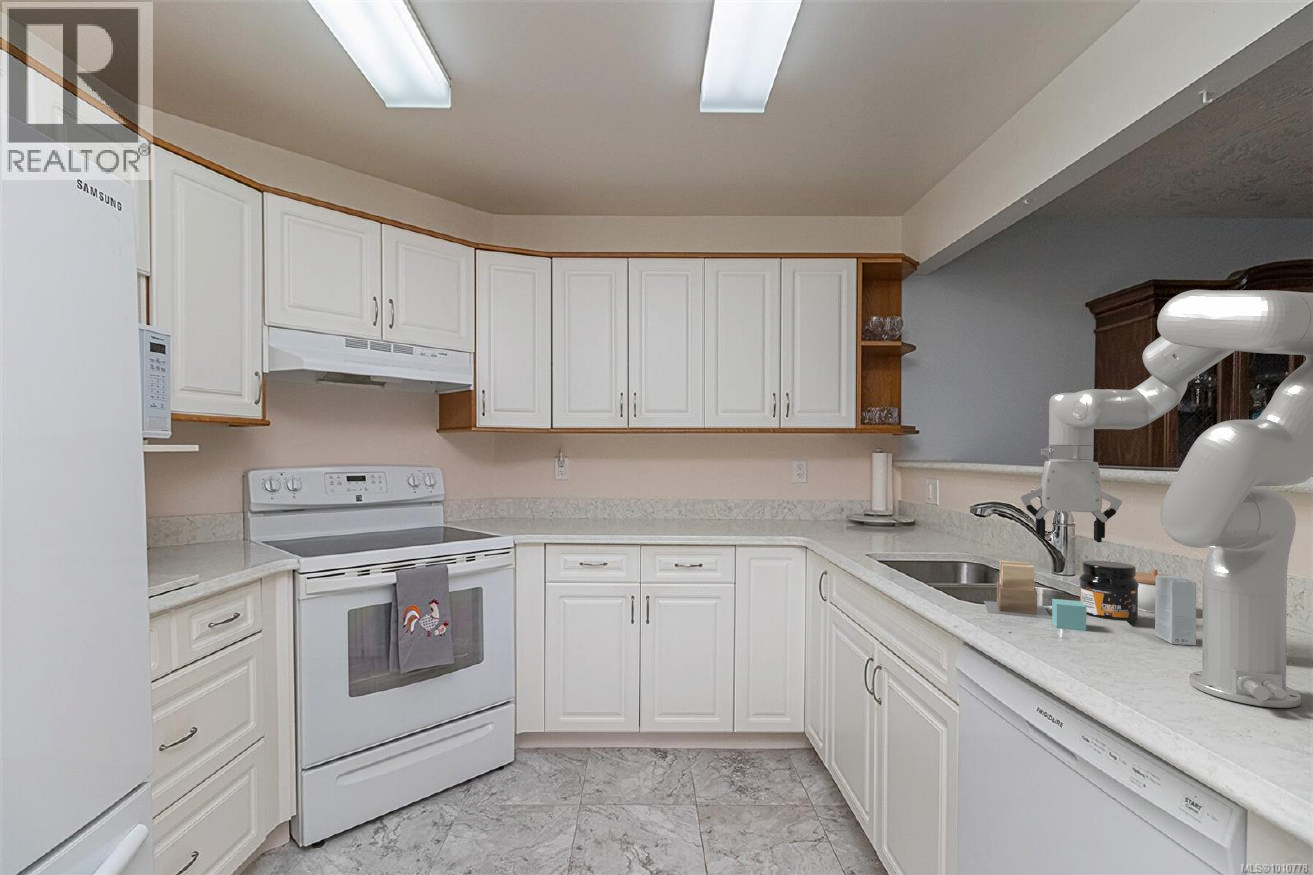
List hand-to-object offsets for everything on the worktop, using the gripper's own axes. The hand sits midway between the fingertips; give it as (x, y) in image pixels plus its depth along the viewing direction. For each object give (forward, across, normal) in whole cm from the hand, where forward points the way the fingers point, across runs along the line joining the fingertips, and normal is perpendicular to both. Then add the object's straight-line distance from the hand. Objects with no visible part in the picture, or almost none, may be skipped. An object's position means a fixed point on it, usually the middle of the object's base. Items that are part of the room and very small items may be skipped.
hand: (1069, 539), depth 132 cm
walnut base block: (+17, -8, +11) cm, 22 cm away
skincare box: (+19, +18, +2) cm, 26 cm away
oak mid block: (+12, -8, +11) cm, 18 cm away
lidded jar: (+19, +22, +29) cm, 41 cm away
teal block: (+19, 0, 0) cm, 19 cm away
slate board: (+19, -8, +11) cm, 23 cm away
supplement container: (+19, +10, +15) cm, 26 cm away
